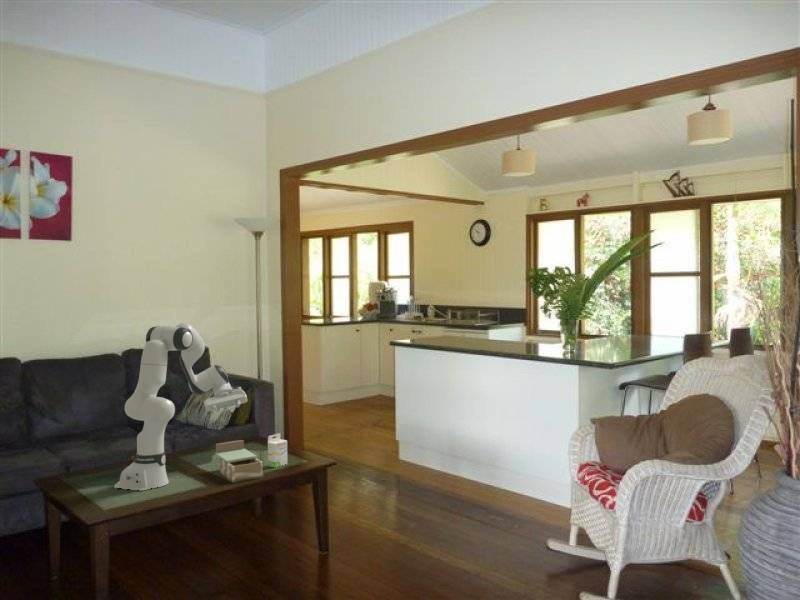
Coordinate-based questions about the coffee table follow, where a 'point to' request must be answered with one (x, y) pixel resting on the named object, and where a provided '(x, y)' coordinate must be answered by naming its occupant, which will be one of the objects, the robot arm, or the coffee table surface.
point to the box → (242, 470)
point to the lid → (233, 451)
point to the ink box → (277, 451)
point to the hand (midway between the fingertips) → (227, 408)
